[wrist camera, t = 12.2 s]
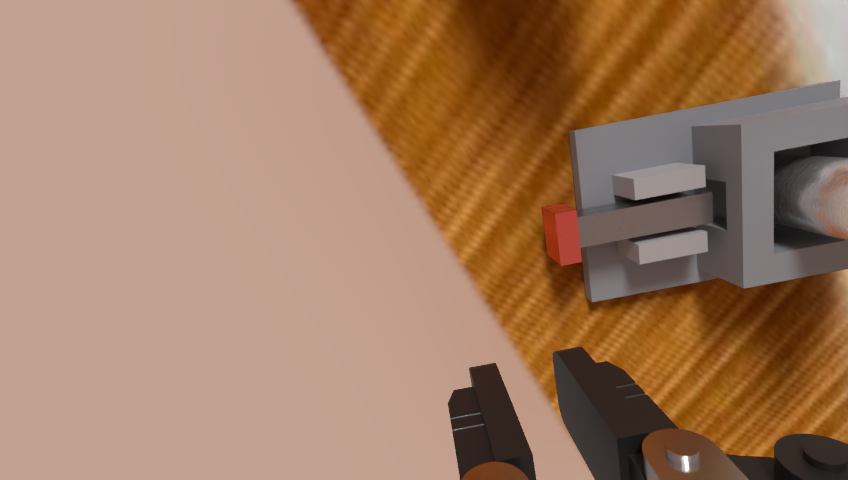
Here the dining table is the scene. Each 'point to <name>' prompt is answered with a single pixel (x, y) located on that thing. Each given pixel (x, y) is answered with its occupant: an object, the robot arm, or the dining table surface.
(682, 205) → the lock pin
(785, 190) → the salt shaker
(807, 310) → the dining table surface
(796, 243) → the mount
